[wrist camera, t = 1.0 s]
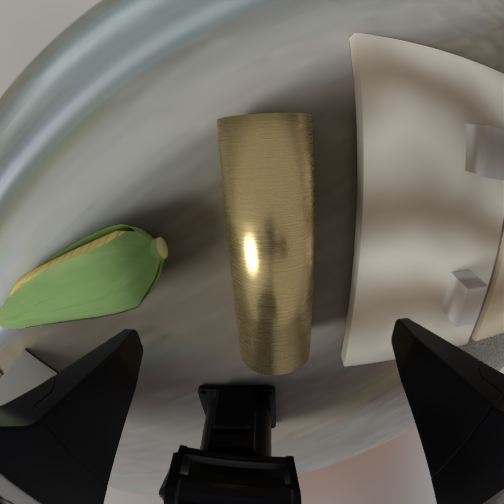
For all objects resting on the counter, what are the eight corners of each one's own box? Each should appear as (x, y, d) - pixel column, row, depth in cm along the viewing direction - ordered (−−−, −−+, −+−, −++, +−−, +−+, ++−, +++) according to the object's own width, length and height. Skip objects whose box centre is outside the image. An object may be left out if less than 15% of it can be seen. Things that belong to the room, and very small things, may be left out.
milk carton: (27, 377, 26) (-35, 482, 8) (24, 347, 23) (-57, 466, 6) (70, 407, 27) (18, 522, 10) (73, 381, 25) (5, 518, 7)
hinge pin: (300, 325, 21) (318, 368, 16) (238, 333, 20) (244, 379, 16) (297, 117, 15) (325, 113, 11) (216, 121, 15) (216, 116, 11)
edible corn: (178, 314, 15) (129, 251, 12) (8, 345, 19) (-24, 314, 16) (189, 252, 19) (155, 195, 16) (27, 305, 23) (-1, 274, 20)
